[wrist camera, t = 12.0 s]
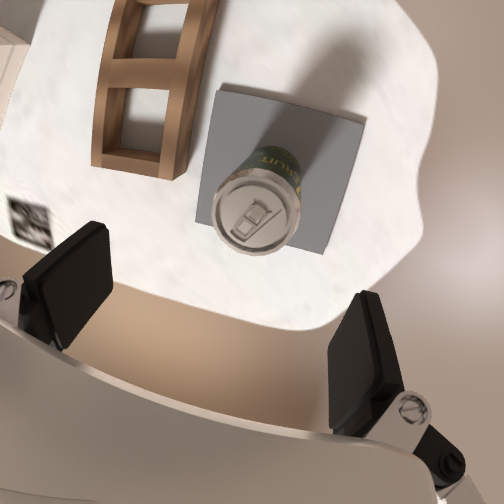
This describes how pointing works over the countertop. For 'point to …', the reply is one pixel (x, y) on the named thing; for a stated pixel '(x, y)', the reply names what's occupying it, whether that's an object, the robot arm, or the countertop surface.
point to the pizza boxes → (9, 66)
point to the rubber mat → (291, 139)
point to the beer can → (259, 203)
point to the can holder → (151, 77)
